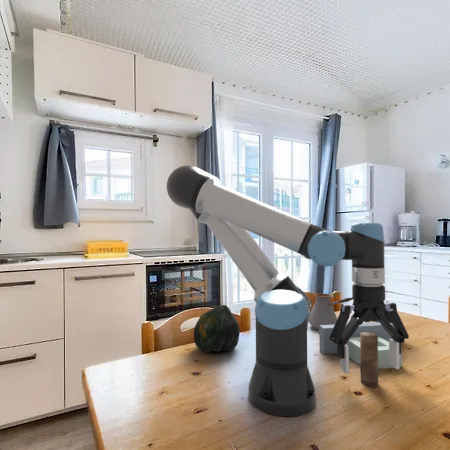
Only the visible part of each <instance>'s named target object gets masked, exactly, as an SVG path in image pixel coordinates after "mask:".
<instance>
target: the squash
mask: <svg viewBox="0 0 450 450" xmlns="http://www.w3.org/2000/svg"><path fill="white" fill-rule="evenodd" d="M240 330H241V329H240V324H239V322H238V320H237V318H236V317H235V316H234V314H233V313H232V311H231V309H230V308H229V307H228V306H227V305H226V304H221V305H218V306H216V307H213V308H211V309H209V310H208V311H206V312H204V313H203V314H201V315H200V316H199V318H198V319H197V321H196V323H195V326H194V327H193V341H194V344H195V346H196V347H197V349H199V350H201V351H204V352H206V353H212V352H213V351H215V352H217V353H219V352H224V351H226V352H228V351H229V352H230V351H232V350H235V348H236V347H237V346H238V343H239V339H240V335H241V334H240V333H241V331H240Z"/></svg>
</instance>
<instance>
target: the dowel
mask: <svg viewBox="0 0 450 450" xmlns="http://www.w3.org/2000/svg"><path fill="white" fill-rule="evenodd" d="M360 364H361V366H360V383H361V384H362V385H364V386H366V387H369V388H370V387H371V388H376V387H378V386H379V369H378V335H376V334H374V333H370V332H362V333H360Z"/></svg>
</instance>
